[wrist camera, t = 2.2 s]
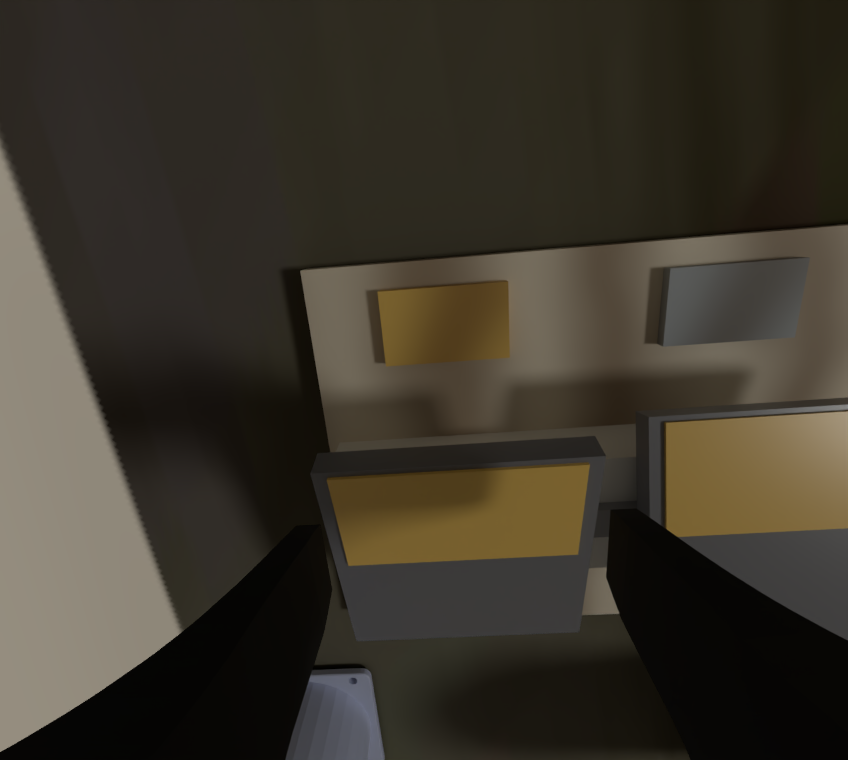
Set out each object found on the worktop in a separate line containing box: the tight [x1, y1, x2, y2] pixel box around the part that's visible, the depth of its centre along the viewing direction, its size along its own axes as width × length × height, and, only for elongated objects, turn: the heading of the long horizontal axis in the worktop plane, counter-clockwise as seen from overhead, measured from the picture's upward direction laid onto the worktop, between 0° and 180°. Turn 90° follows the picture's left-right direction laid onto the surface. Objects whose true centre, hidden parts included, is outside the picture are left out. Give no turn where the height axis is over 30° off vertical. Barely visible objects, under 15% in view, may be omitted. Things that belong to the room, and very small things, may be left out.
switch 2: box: [636, 397, 848, 640], centre depth 15 cm, size 9×9×1 cm
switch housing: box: [336, 424, 637, 568], centre depth 19 cm, size 22×5×4 cm, turn 95°
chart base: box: [300, 224, 848, 615], centre depth 20 cm, size 23×18×2 cm
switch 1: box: [310, 436, 606, 641], centre depth 16 cm, size 9×9×1 cm
